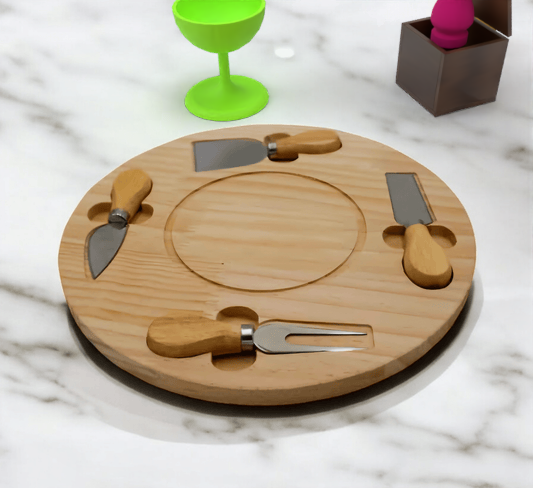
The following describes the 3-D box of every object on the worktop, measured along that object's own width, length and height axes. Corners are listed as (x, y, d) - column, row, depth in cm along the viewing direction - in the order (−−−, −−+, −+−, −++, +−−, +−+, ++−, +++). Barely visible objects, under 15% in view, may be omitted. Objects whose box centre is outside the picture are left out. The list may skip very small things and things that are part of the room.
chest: (434, 117, 115) (444, 54, 107) (395, 82, 125) (401, 22, 117) (495, 101, 119) (509, 39, 111) (452, 68, 128) (462, 9, 120)
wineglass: (271, 118, 117) (268, 21, 105) (182, 123, 117) (169, 27, 105) (266, 75, 129) (263, -17, 117) (186, 80, 129) (174, -12, 116)
